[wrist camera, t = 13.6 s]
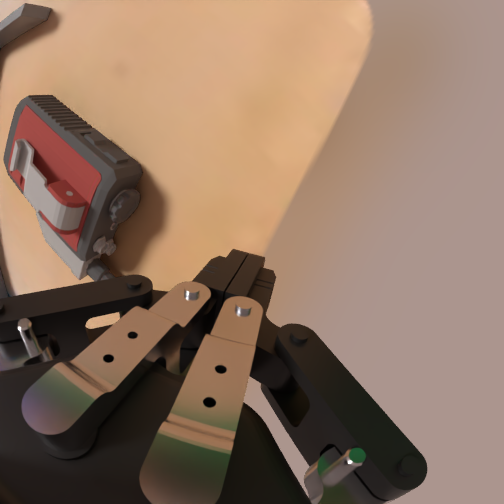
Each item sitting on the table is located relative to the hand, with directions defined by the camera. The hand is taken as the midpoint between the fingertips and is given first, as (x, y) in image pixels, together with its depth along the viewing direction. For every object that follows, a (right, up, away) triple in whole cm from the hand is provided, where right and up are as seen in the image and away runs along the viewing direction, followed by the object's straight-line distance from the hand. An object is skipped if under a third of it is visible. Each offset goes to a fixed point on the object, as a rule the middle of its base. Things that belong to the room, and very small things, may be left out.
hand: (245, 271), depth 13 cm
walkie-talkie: (-10, +4, +3) cm, 11 cm away
